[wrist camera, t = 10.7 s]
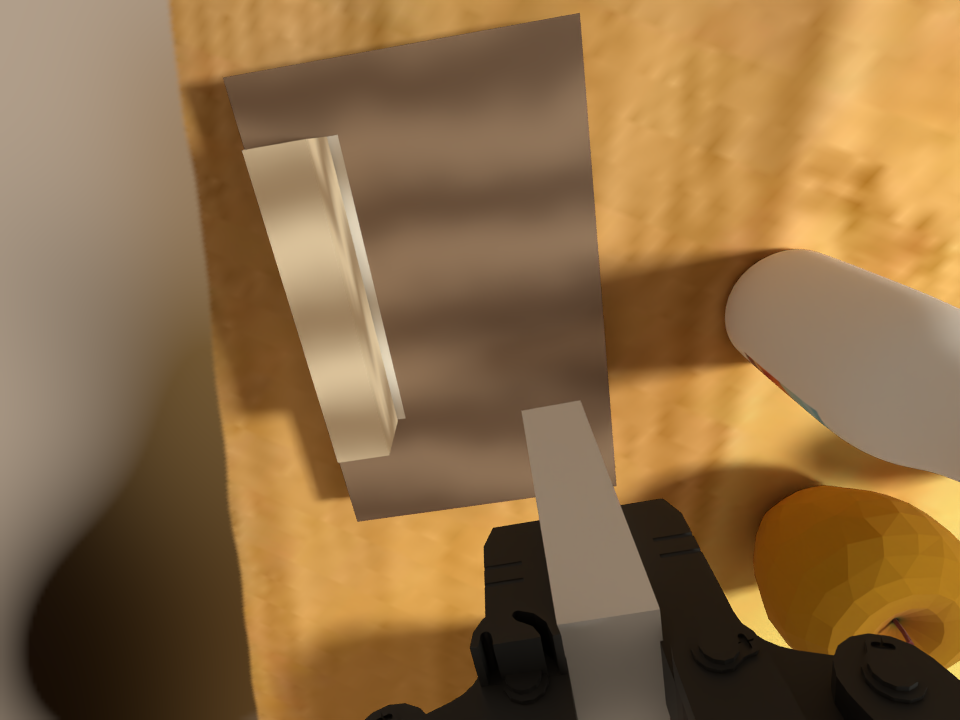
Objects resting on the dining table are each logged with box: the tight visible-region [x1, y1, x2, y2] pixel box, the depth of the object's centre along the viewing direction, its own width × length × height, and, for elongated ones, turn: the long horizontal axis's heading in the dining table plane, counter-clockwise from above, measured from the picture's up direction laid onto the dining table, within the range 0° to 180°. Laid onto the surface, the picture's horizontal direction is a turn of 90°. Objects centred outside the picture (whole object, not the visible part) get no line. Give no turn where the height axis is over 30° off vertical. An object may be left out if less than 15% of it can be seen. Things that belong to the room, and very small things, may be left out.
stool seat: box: [223, 13, 616, 522], centre depth 35 cm, size 28×18×3 cm, turn 9°
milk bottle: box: [725, 249, 960, 482], centre depth 27 cm, size 8×8×20 cm
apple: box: [753, 485, 960, 669], centre depth 38 cm, size 13×13×11 cm
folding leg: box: [242, 137, 398, 463], centre depth 31 cm, size 17×3×4 cm, turn 9°
